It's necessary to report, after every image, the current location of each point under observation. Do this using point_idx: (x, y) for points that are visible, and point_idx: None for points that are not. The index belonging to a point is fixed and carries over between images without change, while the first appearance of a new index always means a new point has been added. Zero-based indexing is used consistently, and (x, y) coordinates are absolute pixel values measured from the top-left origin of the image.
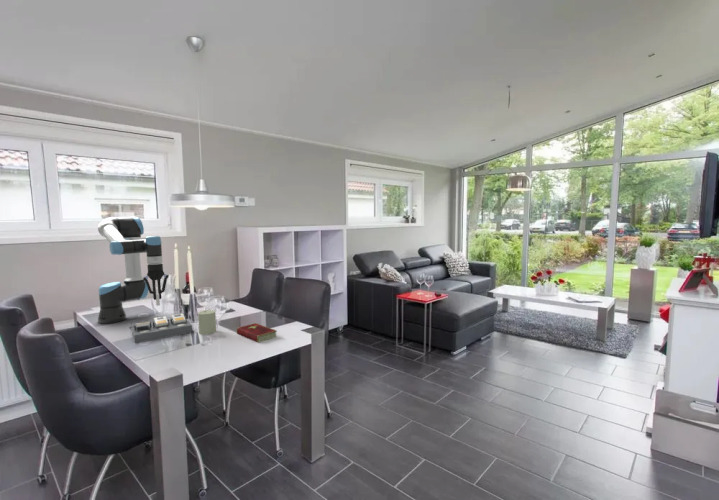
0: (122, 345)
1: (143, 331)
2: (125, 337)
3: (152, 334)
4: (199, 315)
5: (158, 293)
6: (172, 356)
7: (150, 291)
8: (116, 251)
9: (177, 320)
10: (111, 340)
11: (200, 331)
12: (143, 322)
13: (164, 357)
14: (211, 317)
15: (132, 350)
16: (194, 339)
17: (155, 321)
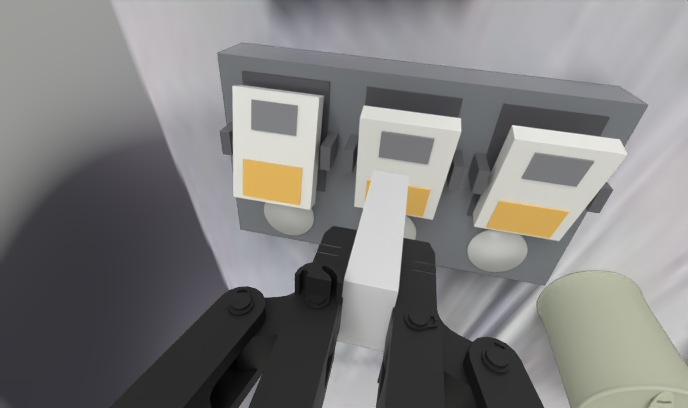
0: (209, 201)
1: (283, 212)
2: (210, 76)
3: None
4: (571, 406)
5: (390, 317)
6: (348, 390)
7: (230, 377)
8: None
9: (500, 229)
10: (145, 79)
11: (542, 316)
12: (281, 134)
13: (328, 382)
14: None
15: (248, 279)
16: (473, 335)
17: (359, 173)
